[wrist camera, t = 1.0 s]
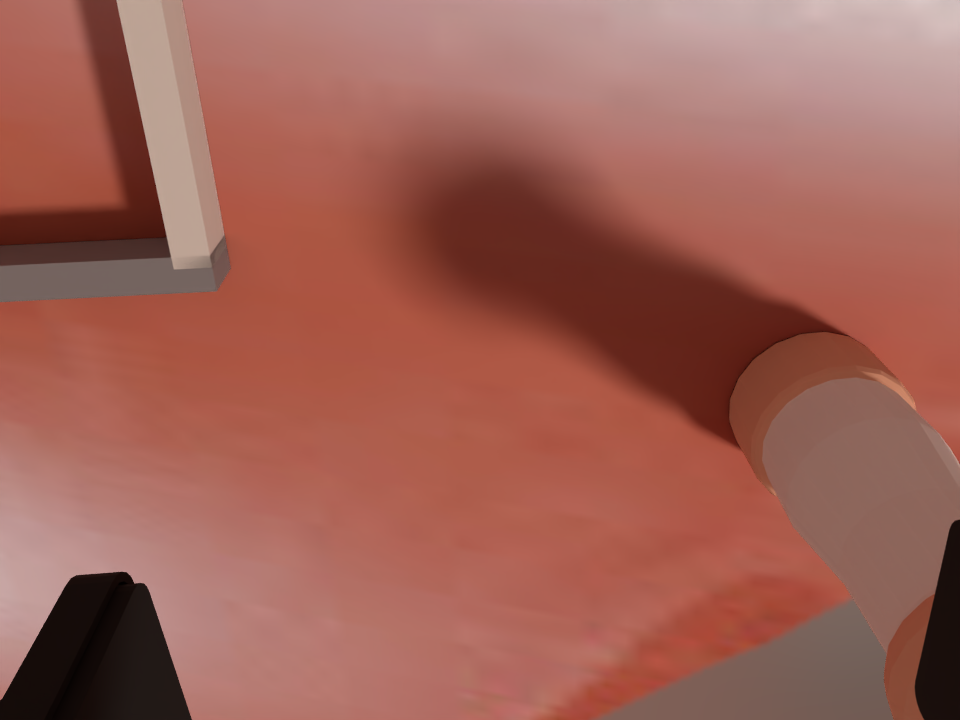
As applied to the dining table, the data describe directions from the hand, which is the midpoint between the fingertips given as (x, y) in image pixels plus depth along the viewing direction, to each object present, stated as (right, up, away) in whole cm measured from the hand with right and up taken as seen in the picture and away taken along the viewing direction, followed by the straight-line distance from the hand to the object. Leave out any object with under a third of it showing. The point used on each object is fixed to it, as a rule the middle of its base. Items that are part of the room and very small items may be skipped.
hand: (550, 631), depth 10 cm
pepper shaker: (+14, +1, +31) cm, 34 cm away
